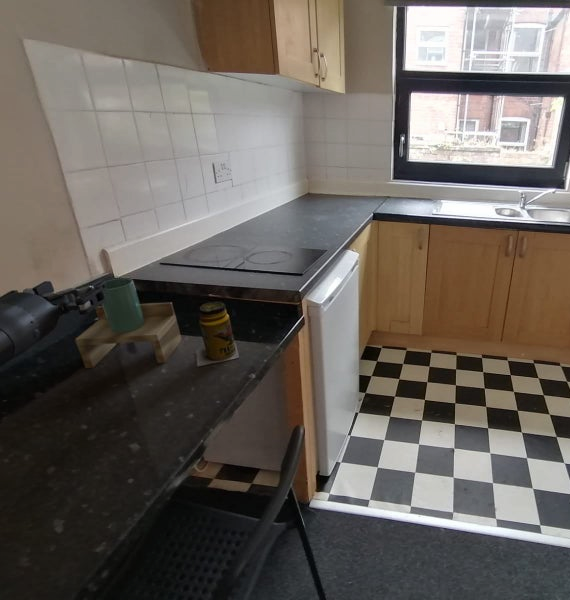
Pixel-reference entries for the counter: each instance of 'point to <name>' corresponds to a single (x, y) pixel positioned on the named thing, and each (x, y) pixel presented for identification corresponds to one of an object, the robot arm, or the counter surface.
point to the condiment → (215, 335)
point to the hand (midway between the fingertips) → (76, 284)
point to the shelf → (132, 334)
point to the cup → (122, 306)
